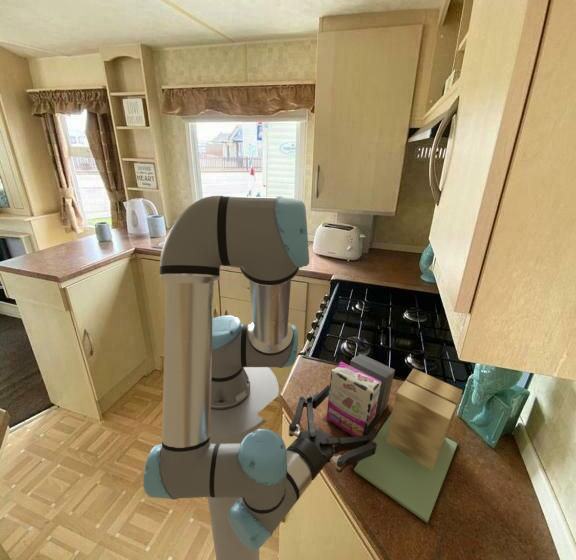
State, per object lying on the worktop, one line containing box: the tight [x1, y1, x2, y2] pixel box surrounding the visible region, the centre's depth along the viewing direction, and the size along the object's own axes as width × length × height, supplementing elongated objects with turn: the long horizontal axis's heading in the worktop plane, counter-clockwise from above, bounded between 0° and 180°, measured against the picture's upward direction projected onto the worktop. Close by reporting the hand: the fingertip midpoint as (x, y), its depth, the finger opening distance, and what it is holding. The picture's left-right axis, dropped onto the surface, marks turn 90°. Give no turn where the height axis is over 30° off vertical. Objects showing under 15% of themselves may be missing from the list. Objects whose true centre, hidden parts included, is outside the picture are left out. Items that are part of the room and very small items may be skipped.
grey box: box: [349, 353, 396, 417], centre depth 84 cm, size 10×6×14 cm, turn 50°
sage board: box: [353, 410, 458, 524], centre depth 73 cm, size 16×22×1 cm
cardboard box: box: [386, 368, 464, 471], centre depth 73 cm, size 11×10×16 cm
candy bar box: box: [326, 361, 381, 437], centre depth 77 cm, size 11×5×16 cm, turn 50°
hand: (352, 403), depth 77 cm, fingers open, 13 cm apart
